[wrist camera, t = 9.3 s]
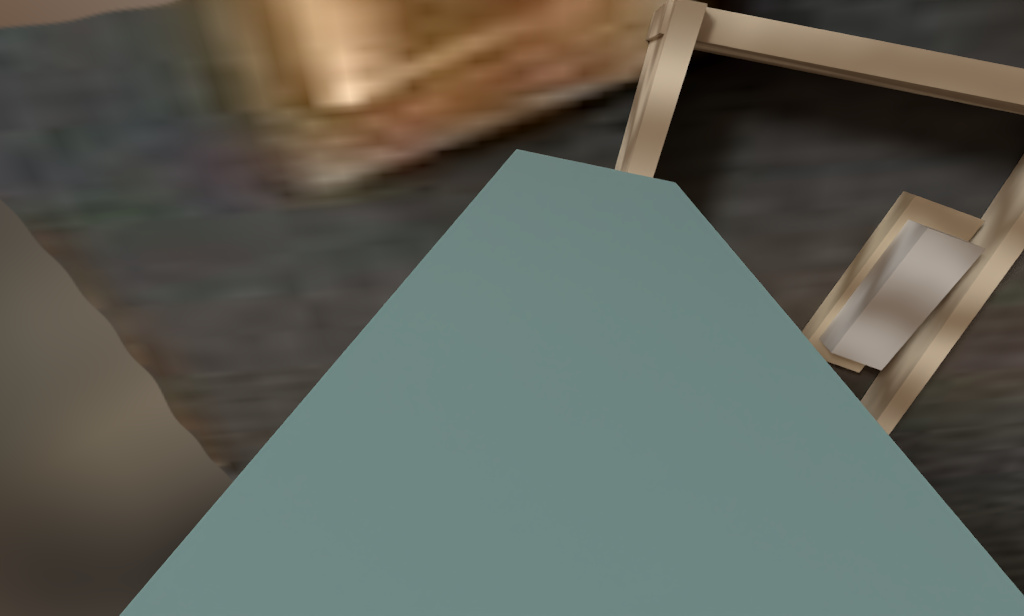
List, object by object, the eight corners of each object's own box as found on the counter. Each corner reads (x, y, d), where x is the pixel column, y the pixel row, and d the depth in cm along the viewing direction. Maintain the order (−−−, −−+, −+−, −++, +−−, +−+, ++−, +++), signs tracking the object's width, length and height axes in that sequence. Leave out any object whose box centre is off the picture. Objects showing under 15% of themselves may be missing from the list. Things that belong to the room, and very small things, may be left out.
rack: (653, 13, 30) (672, -4, 23) (1089, 98, 29) (1229, 105, 22) (555, 373, 42) (551, 425, 36) (853, 440, 41) (901, 505, 35)
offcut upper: (908, 219, 32) (927, 227, 30) (963, 239, 32) (985, 248, 30) (818, 338, 36) (830, 352, 35) (866, 356, 36) (881, 370, 35)
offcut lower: (897, 188, 33) (915, 195, 31) (963, 212, 33) (985, 220, 31) (790, 339, 39) (800, 351, 37) (846, 359, 39) (859, 372, 37)
